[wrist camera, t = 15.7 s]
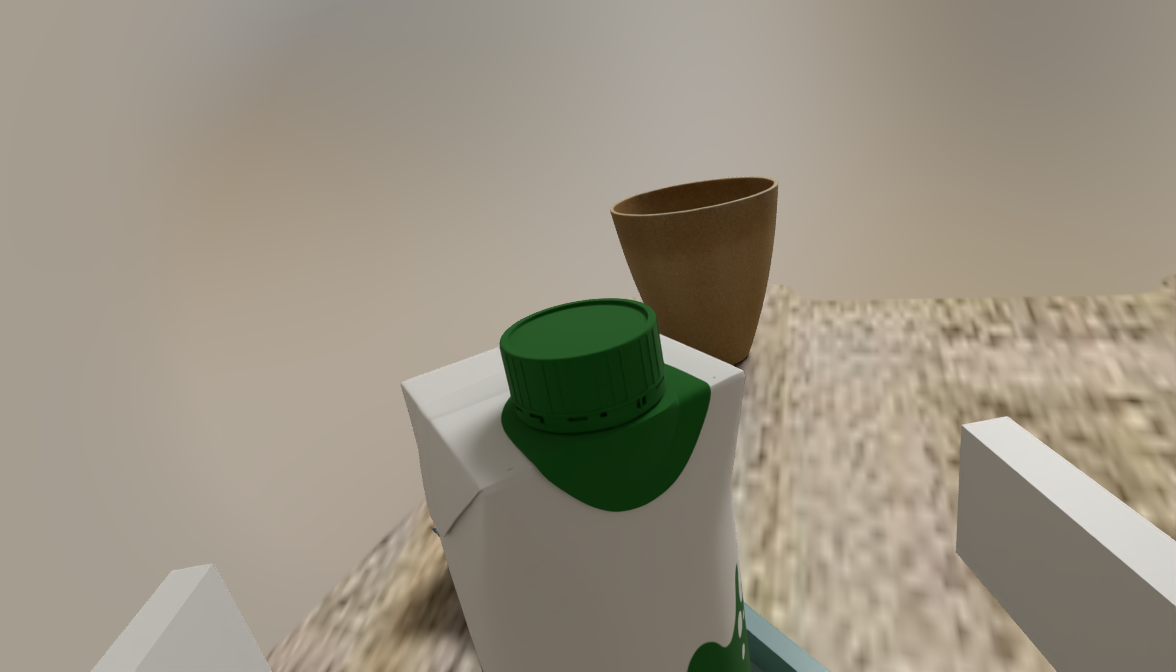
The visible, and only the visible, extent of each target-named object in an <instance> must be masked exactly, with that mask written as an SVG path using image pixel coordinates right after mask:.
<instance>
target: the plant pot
mask: <svg viewBox="0 0 1176 672" xmlns="http://www.w3.org/2000/svg"><path fill="white" fill-rule="evenodd" d="M777 197H778V181H777V180H775V179H772V178H768V177H731V178H720V179H712V180H704V181H697V182H691V183H685V184H679V185H674V186H669V187H665V188H660V189H656V190H652V191H648V192H644V193H641V194H638V195H634V196H632V197H629V198H626V199H624V200H622V201H619V202H617V203H616V204H614V205H613V206H612V207H611V208H610V211H611V215H612V218H613V221H614V225H615V228H616V231H617V234H618V237H619V240H620V243H621V246H622V249H623V252H624V255H625V258H626V261H627V263H628V266H629V268H630V271H631V274H632V277H633V279H634V281H635V284H636V286H637V288H638V291H639V293H640V296H641V298H642V300H643V302H644V304H646V305H648V306H649V307H651V308H652V309H653V310H654V312H655V314H656V316H657V321H658V328H659V334H661V335H663V336H666V337H668V338H670V339H673V340H675V341H677V342H680V343H682V344H684V345H686V346H689V347H691V348H693V349H696V350H698V351H700V352H703V353H705V354H707V355H710V356H712V357H714V358H716V359H719V360H721V361H723V362H726V363H728V364H730V365H734V364H736V363H738V362H740V361H742V360H743V359H745V358H746V357H747V356H748V354H749V351H750V348H751V346H752V342H753V339H754V336H755V333H756V329H757V325H758V322H759V318H760V314H761V310H762V306H763V301H764V297H765V292H766V287H767V282H768V277H769V271H770V265H771V258H772V251H773V243H774V235H775V225H776V213H777Z"/></svg>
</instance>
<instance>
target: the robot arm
mask: <svg viewBox="0 0 1176 672" xmlns="http://www.w3.org/2000/svg"><path fill="white" fill-rule="evenodd" d="M956 553H957V554H958V555H959V556H960V557H961V559H962V560H963V561H964V562H965V563H966V565H967V566H968V567H969V568H970V569H971V570H972V572H973V573H974V574H975V575H976V576H977V578H978V579H979V580H980V581H981V582H982V583H983V585H984V586H985V587H986V588H987V589H988V590H989V592H990V593H991V594H992V595H993V596H994V598H995V599H996V600H997V601H998V602H999V603H1000V605H1001V606H1002V607H1003V608H1004V609H1005V611H1006V612H1007V613H1008V614H1009V615H1010V616H1011V618H1012V619H1013V620H1014V621H1015V622H1016V624H1017V625H1018V626H1019V627H1020V628H1021V629H1022V631H1023V632H1024V633H1025V634H1026V635H1027V637H1028V638H1029V639H1030V640H1031V641H1032V642H1033V644H1034V645H1035V646H1036V647H1037V648H1038V650H1039V651H1040V652H1041V653H1042V654H1043V655H1044V657H1045V658H1046V659H1047V660H1048V661H1049V663H1050V664H1051V665H1052V666H1053V667H1054V668H1055V670H1056V671H1057V672H1176V541H1175V540H1173V539H1172V538H1171V537H1169V536H1168V535H1167V534H1165V533H1164V532H1163V531H1161V530H1160V529H1158V528H1157V527H1156V526H1154V525H1153V524H1152V523H1150V522H1149V521H1148V520H1146V519H1145V518H1144V517H1142V516H1141V515H1140V514H1138V513H1137V512H1136V511H1134V510H1133V509H1131V508H1130V507H1129V506H1127V505H1126V504H1125V503H1123V502H1122V501H1121V500H1119V499H1118V498H1117V497H1115V496H1114V495H1113V494H1111V493H1110V492H1109V491H1107V490H1106V489H1104V488H1103V487H1102V486H1100V485H1099V484H1098V483H1096V482H1095V481H1094V480H1092V479H1091V478H1090V477H1088V476H1087V475H1086V474H1084V473H1083V472H1082V471H1080V470H1079V469H1077V468H1076V467H1075V466H1073V465H1072V464H1071V463H1069V462H1068V461H1067V460H1065V459H1064V458H1063V457H1061V456H1060V455H1059V454H1057V453H1056V452H1054V451H1053V450H1052V449H1050V448H1049V447H1048V446H1046V445H1045V444H1044V443H1042V442H1041V441H1040V440H1038V439H1037V438H1036V437H1034V436H1033V435H1032V434H1030V433H1029V432H1027V431H1026V430H1025V429H1023V428H1022V427H1021V426H1019V425H1018V424H1017V423H1015V422H1014V421H1013V420H1011V419H1010V418H1009V417H1002V418H996V419H991V420H986V421H980V422H975V423H969V424H964V425H961V448H960V471H959V494H958V517H957V540H956ZM91 672H272V670H271V668H270V667H269V665H268V663H267V661H266V659H265V657H264V655H263V654H262V652H261V650H260V648H259V646H258V644H257V643H256V641H255V639H254V637H253V635H252V633H251V631H250V630H249V628H248V626H247V624H246V622H245V620H244V619H243V617H242V615H241V613H240V611H239V609H238V607H237V606H236V604H235V602H234V600H233V598H232V596H231V595H230V593H229V591H228V589H227V587H226V585H225V583H224V582H223V580H222V578H221V576H220V574H219V572H218V570H217V569H216V567H215V565H214V563H211V564H205V565H200V566H195V567H190V568H184V569H178V570H173V571H171V572H170V574H169V575H168V576H167V577H166V579H165V580H164V581H163V582H162V583H161V585H160V586H159V587H158V588H157V590H156V591H155V592H154V594H153V595H152V596H151V597H150V599H149V600H148V601H147V602H146V603H145V605H144V606H143V607H142V608H141V610H140V611H139V612H138V613H137V615H136V616H135V617H134V618H133V620H132V621H131V622H130V623H129V624H128V626H127V627H126V628H125V629H124V631H123V632H122V633H121V634H120V636H119V637H118V638H117V639H116V641H115V642H114V643H113V644H112V646H111V647H110V648H109V649H108V650H107V652H106V653H105V654H104V655H103V657H102V658H101V659H100V660H99V662H98V663H97V664H96V665H95V667H94V668H93V669H92V670H91Z"/></svg>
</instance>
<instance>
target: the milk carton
mask: <svg viewBox="0 0 1176 672" xmlns="http://www.w3.org/2000/svg"><path fill="white" fill-rule="evenodd" d="M744 383H745V375H744V372H743V370H741V369H739V368H737V367H734V366H732V365H730V364H728V363H726V362H723V361H721V360H719V359H716V358H714V357H712V356H710V355H707V354H705V353H703V352H700V351H698V350H696V349H693V348H691V347H689V346H686V345H684V344H682V343H680V342H677V341H675V340H673V339H670V338H668V337H666V336H663V335H661V334H659V328H658V321H657V316H656V314H655V312H654V310H653V309H652V308H651V307H649V306H648V305H646V304H644V303H641V302H638V301H634V300H628V299H617V298H606V299H605V298H604V299H590V300H583V301H576V302H571V303H566V304H562V305H558V306H554V307H551V308H548V309H545V310H542V311H539V312H536V313H534V314H532V315H529V316H527V317H525V318H523V319H521V320H520V321H518V322H516V323H515V324H513V325H512V326H511V327H510V328H508V329H507V330H506V331H505V332H504V334H503V335H502V337H501V340H500V347H497V348H495V349H492V350H489V351H486V352H483V353H481V354H478V355H475V356H472V357H469V358H467V359H464V360H461V361H459V362H455V363H453V364H450V365H447V366H444V367H441V368H439V369H436V370H433V371H430V372H427V373H425V374H422V375H419V376H416V377H414V378H411V379H408V380H405V381H403V382H401V387H402V391H403V395H404V398H405V402H406V405H407V408H408V412H409V415H410V419H411V423H412V427H413V431H414V434H415V438H416V442H417V445H418V450H419V458H420V467H421V473H422V478H423V485H424V490H425V495H426V500H427V505H428V508H429V512H430V516H431V518H432V520H433V522H434V524H435V525H436V527H437V529H438V531H439V535H440V539H441V543H442V546H443V550H444V553H445V556H446V560H447V563H448V567H449V570H450V574H451V577H452V580H453V583H454V586H455V589H456V592H457V595H458V598H459V601H460V604H461V607H462V610H463V613H464V617H465V620H466V623H467V626H468V629H469V632H470V635H471V638H472V641H473V644H474V647H475V650H476V653H477V656H478V659H479V662H480V665H481V668H482V672H751V668H750V658H749V649H748V640H747V630H746V621H745V612H744V602H743V593H742V584H741V574H740V565H739V555H738V546H737V536H736V527H735V517H734V508H733V498H732V473H733V465H734V457H735V450H736V442H737V435H738V427H739V420H740V413H741V405H742V398H743V391H744Z"/></svg>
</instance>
